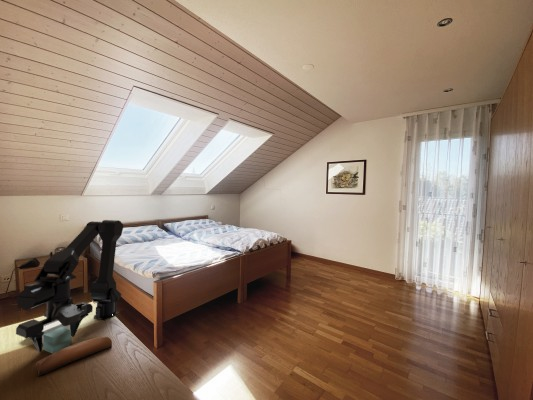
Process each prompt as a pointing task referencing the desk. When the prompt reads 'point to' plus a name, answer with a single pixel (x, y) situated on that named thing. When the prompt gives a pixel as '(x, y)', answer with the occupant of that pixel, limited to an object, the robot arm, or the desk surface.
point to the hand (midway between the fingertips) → (57, 343)
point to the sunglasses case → (72, 354)
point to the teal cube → (57, 340)
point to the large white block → (53, 327)
